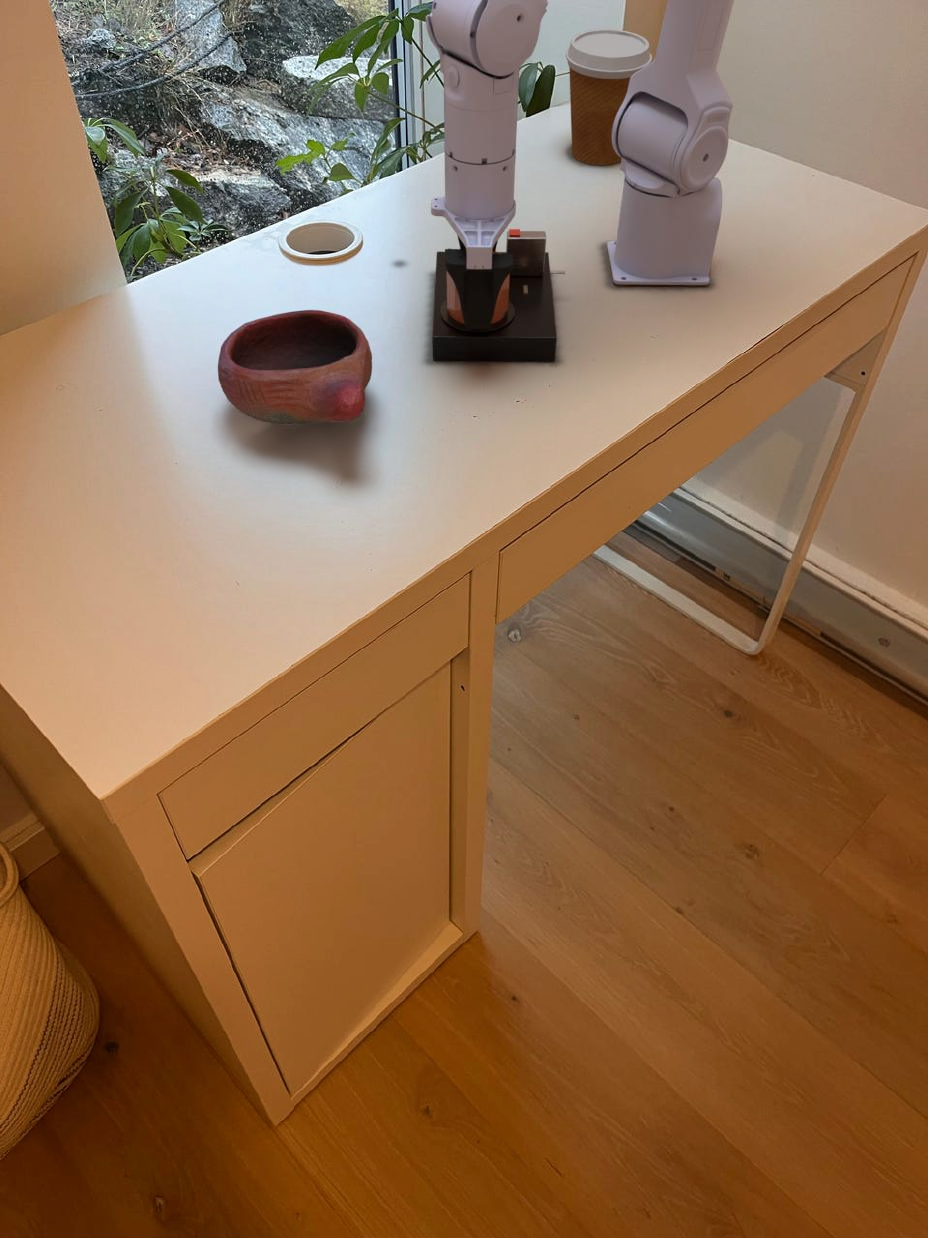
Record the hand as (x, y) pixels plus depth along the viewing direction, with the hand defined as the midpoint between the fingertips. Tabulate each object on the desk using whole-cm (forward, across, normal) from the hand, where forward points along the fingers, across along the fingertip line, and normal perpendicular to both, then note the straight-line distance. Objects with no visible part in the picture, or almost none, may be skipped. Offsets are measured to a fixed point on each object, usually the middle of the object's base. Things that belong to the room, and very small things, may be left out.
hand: (477, 303), depth 88 cm
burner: (+1, 0, 0) cm, 1 cm away
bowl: (+4, +12, -14) cm, 18 cm away
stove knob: (+1, -7, +4) cm, 8 cm away
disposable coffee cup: (+4, -39, +14) cm, 42 cm away
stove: (+3, -4, +2) cm, 5 cm away
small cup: (+1, 0, 0) cm, 1 cm away
